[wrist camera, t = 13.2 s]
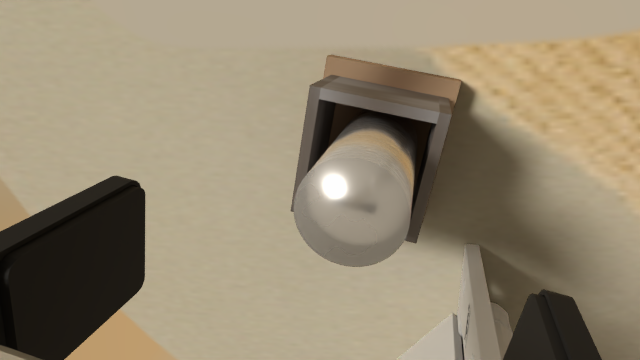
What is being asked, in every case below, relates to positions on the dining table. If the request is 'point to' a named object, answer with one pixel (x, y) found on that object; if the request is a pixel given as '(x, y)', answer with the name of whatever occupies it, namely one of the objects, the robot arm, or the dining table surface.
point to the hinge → (467, 322)
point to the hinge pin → (360, 191)
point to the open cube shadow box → (388, 97)
